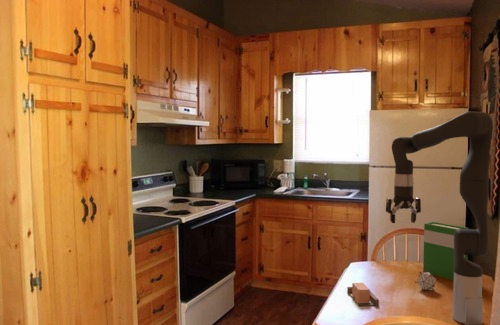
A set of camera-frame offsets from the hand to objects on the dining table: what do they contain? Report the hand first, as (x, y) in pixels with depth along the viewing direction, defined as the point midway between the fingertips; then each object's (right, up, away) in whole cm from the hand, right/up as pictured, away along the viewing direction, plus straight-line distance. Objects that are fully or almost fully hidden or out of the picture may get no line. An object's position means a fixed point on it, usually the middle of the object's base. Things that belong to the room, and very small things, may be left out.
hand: (403, 222), depth 181 cm
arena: (-18, -31, -5) cm, 36 cm away
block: (-19, -30, -6) cm, 36 cm away
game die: (+12, -30, +5) cm, 33 cm away
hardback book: (+28, -29, +24) cm, 47 cm away
